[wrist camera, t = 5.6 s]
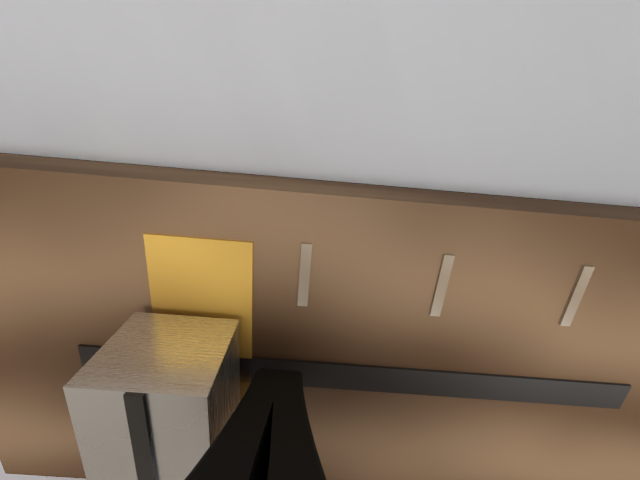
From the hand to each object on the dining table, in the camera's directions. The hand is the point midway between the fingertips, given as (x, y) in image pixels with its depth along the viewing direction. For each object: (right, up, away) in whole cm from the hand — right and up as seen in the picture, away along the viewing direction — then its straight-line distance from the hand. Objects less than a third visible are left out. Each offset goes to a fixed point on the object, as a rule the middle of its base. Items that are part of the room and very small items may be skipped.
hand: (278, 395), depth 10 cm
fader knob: (-3, 0, 0) cm, 3 cm away
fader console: (+2, +1, +3) cm, 4 cm away
